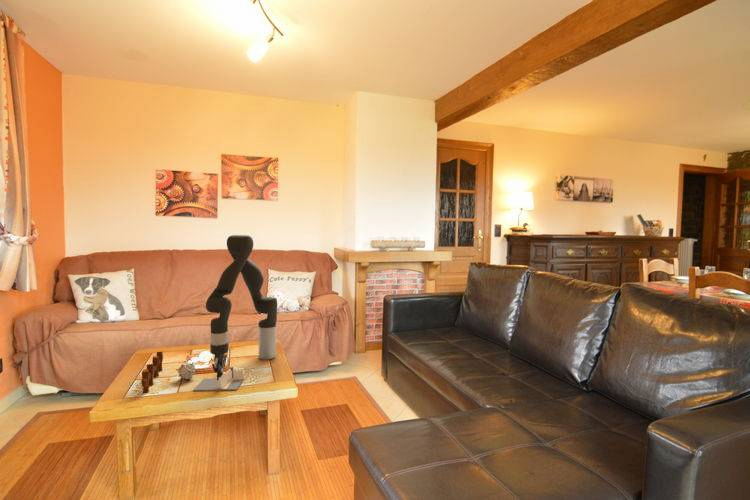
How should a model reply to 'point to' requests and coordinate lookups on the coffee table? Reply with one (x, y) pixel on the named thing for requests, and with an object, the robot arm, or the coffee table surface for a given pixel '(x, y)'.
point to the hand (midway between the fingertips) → (220, 379)
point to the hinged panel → (225, 378)
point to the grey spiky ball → (186, 371)
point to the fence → (151, 372)
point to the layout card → (212, 385)
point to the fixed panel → (238, 373)
